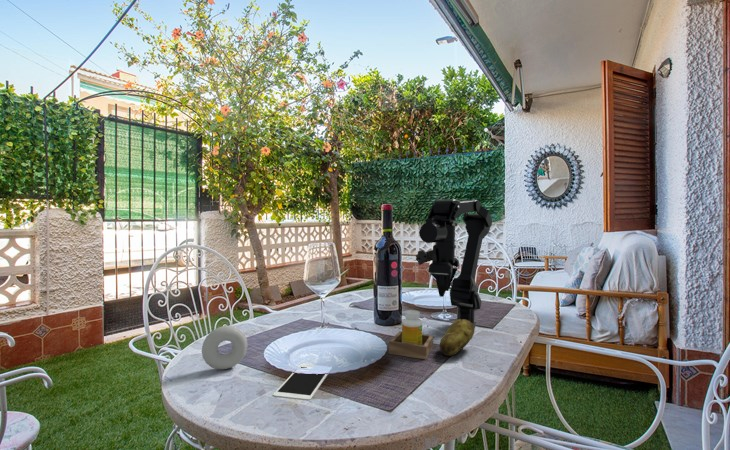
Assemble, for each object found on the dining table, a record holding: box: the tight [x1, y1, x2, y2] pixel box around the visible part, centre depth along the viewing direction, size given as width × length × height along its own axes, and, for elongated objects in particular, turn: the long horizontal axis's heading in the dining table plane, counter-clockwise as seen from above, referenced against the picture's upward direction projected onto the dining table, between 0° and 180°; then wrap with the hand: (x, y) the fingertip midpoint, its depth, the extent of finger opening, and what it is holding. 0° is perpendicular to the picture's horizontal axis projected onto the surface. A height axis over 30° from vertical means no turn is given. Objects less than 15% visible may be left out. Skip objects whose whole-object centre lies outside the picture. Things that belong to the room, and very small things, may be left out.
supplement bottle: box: [401, 309, 423, 345], centre depth 99 cm, size 5×5×10 cm
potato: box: [439, 319, 476, 357], centre depth 99 cm, size 8×13×8 cm, turn 121°
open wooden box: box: [388, 330, 434, 360], centre depth 99 cm, size 10×10×3 cm
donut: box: [201, 325, 249, 370], centre depth 85 cm, size 10×4×10 cm, turn 118°
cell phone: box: [272, 363, 329, 401], centre depth 80 cm, size 8×16×1 cm, turn 169°
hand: (444, 293), depth 111 cm, fingers open, 9 cm apart
